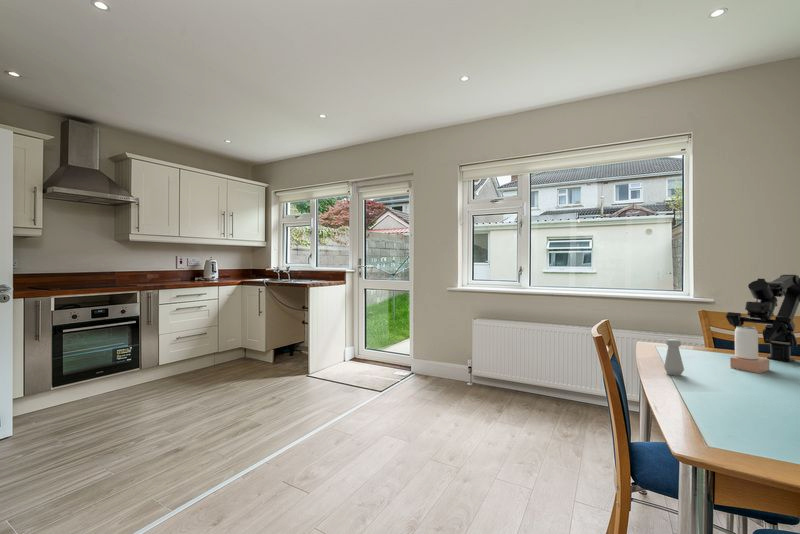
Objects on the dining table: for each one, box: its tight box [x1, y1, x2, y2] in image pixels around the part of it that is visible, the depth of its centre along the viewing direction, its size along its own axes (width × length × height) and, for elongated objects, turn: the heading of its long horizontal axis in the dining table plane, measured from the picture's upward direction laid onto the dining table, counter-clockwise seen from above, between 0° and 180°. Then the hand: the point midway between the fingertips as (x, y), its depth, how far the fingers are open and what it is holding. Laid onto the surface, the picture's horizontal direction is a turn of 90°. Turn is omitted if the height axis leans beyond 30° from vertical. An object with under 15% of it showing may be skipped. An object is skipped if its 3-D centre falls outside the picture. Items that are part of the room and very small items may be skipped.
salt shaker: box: [663, 338, 685, 377], centre depth 131 cm, size 6×6×13 cm
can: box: [734, 325, 759, 360], centre depth 137 cm, size 6×6×12 cm
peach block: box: [729, 355, 771, 374], centre depth 136 cm, size 8×8×4 cm
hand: (752, 338), depth 137 cm, fingers open, 9 cm apart
